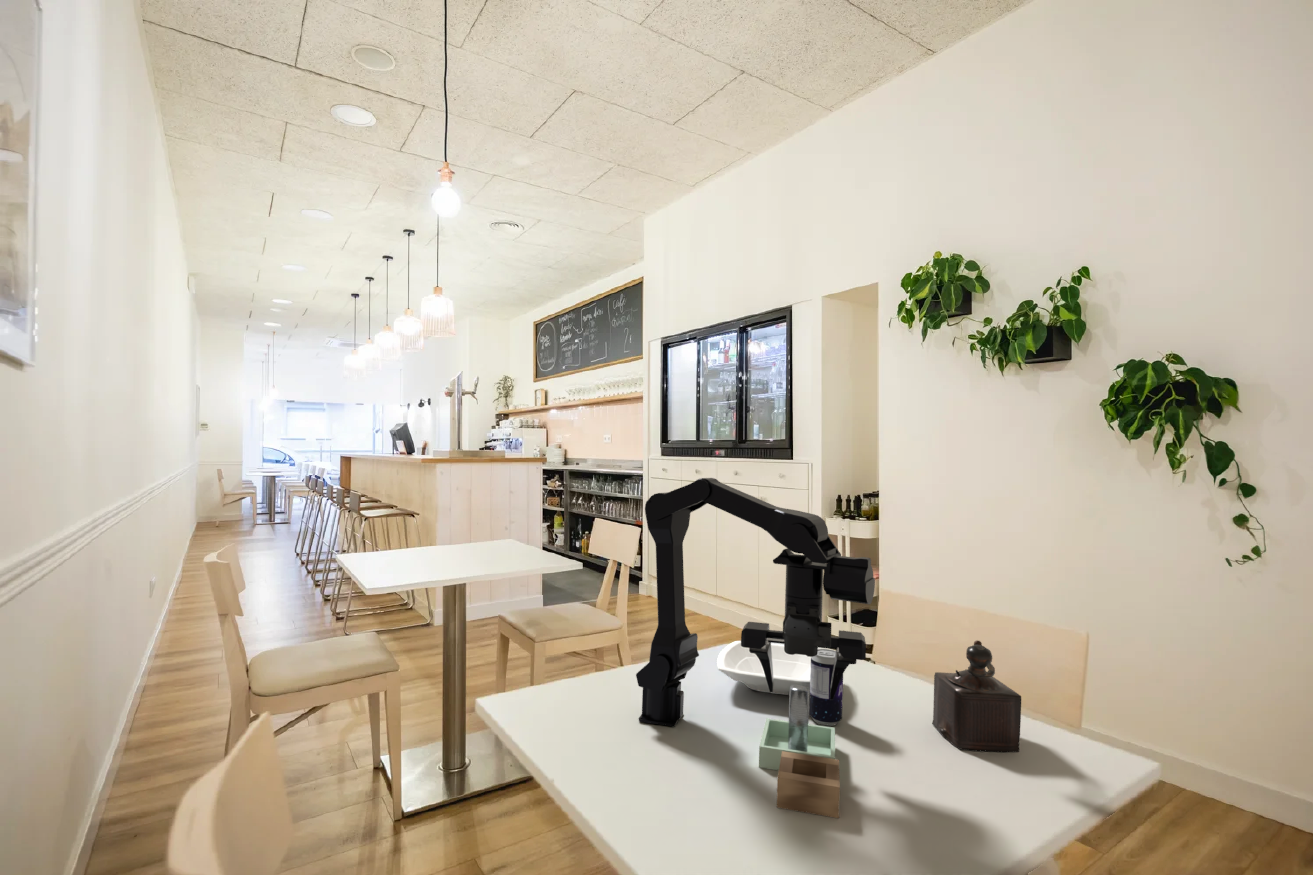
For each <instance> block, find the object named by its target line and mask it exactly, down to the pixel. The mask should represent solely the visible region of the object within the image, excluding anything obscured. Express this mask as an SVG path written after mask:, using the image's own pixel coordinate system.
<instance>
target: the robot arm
mask: <svg viewBox="0 0 1313 875" xmlns="http://www.w3.org/2000/svg"><path fill="white" fill-rule="evenodd" d="M707 504H708V505H710V506H713V507H714V508H716V509H719V510H721V511H723V512H725V513H727V514H730V515H732V516H734V517H737V518H739V519H741V520H743V521H746V522H747V523H750V524H751V525H754V526H757V527H759V528H761V529H762V530H764V531H765V532H767V533H768V535H770V537H772V539H774V540H775V541H776V542H778V543H779V544H781V545H782V546H784V547H785V548H784V549H783V550H782V551H781V552H780V554H779V555H777V556H776V557H775V558H773V560H772V563H773V564H775V565H782V566H783V565H784V566H785V589H784V590H785V594H784V595H785V597H784V599H785V600H784V619H783V621H782V630H775V629H773V630H772V629H770V623H767V622H756V621H747V623H745V624H744V626H743V628H742V630H741V633H740V641H741V646H742V647H746V648H749V652H750V653H754V654H756V655H757V657H758V658H759V660H760V662H761V665H762V667H763V670H764V673H765V677H766V680H767V684H768V687H769V690H770V692H773V665H772V651H771V643H772V644H781V645H784V651H785V652H786V653H787V654H790V655H794V654H800V655H806V656H808V657H814V656H816V655H817V654H818V649H829V650H835V651H836V654H835V661H834V667H833V674H832V681H831V690H830V699H831V700H833V698H834V696H835V693H836V690H837V688H838V685H839V682H840V679H841V677H842V675H843V676H844V674H845V671H846V669H847V668H848V667H849V665H856V664H857V661H858V660H859V661H863V660H866V659H867V655H866V654H867V643H866V642H867V641H866V637H865V636H864V634H863V633H862V632H860V631H859V632H858V631H850V630H849V631H848V630H840V629H839V630H838V636H833V635H832V622H826V621H823V596H824V595H823V593H824V592H825V594H826V595H829V597H830V599H831V600H835V601H836V600H837V601H842V602H843V601H844V602H849V603H857V604H864V605H871V604H872V602H873V600H874V596H875V590H876V586H875V585H876V578H875V577H874V570H873V567H872V559H871V558H870V557H866V556H865V557H864V556H859V557H853V556H852V557H851V556H846V555H845V556H844V555H842V553H841V552H840V550H839V549H838V548H837V546H836V545H835V543H834V542H833V540H832V539H831V537H830V536H829V530H828V526H827V524H826V521H825V520H824V519H823V518H822V517H821V516H819V515H817V514H814V513H809V512H805V511H803V510H802V511H801V510H796V509H790V508H786V507H785V508H784V507H780V506H777V505H773V504H772V503H769V502H767V501H765V500H762V499H760V498H758V497H755V496H754V495H750V494H749V493H745V492H743V491H742V490H739V489H736V488H734V487H732V486H730V485H727V484H726V483H724V482H723V483H722V482H721V481H720V480H718V479H716V478H714V477H701V478H698V479H696V480H695V481H693V482H691V483H689V484H686V485H684V486H681V487H679V488H676V489H674V490H673V489H672V490H671V491H669V492H657V493H654V494H652V495H651V496H649V498H648V499H647V500H646V501H645V505H644V514H645V519H646V526H647V529H648V532H649V533H650V535H651V537H652V539H653V541H654V544H655V564H656V568H655V569H656V570H655V572H656V599H657V600H656V601H657V627H656V630H655V633H654V636H653V638H652V641H651V644H650V651H649V660H648V661H649V662H647V664H645V666H643V667H642V668H641V669H640V670H639V671H638V672H636V674H635V678H636V683H637V685H638V687H640V688H642V697H641V698H642V700H641V701H642V702H641V703H642V704H641V714H640V716H639V717H638V722H639V723H640V722H641V723H646V724H652V725H653V724H654V725H660V726H665V727H666V726H667V727H676V725H677V724H678V722H679V721H680V719H681V718H682V717H683V715H684V701H685V700H684V698H685V691H683V690H682V680H684V679H685V678H686V676H687V674H688V672H689V671H691V669H693V667H694V666H695V664H696V660H697V658H698V657H699V656H700V654H699V650H698V639H699V638H698V633H695V632H694V633H691V632H690V630H689V628H688V626H687V625H686V606H685V604H686V603H685V579H684V577H685V576H684V575H685V574H684V572H685V571H684V550H683V549H684V546H683V544H684V540H685V537H686V534H687V532H688V529H689V527H690V519H691V513H693V512H695V511H697V510H699V509H701V508H702V507H704V506H705V505H707ZM823 590H824V592H823Z"/></svg>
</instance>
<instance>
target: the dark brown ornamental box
mask: <svg viewBox="0 0 1313 875" xmlns="http://www.w3.org/2000/svg"><path fill="white" fill-rule="evenodd" d="M965 655H966V657H965V658H966V659H967V660H968V662H969V666H968V667H967V669H965V670H960V671H958V670H957V669H955V673H954V672H939V671H938V672H937V671H936V672H934V677H933V678H934V679H933V715H932V723H931V724H932V726H933V727H934V728H935V729H936V730H937V731H938V733H940V735H941V736H942V737H943V738H944V739H945V740H947V741H948V742H949V743H950V744H951V745H953V746H954V747H956V748H958V749H960V750H964V751H971V752H988V753H1019V752H1020V741H1021V740H1020V738H1021V719H1022V696H1021V695H1020V694H1019V693H1017V692H1016V691H1015V690H1013V689H1012V688H1011V687H1009V686H1007V685H1006V684H1004V683H1003V682H1001V681H1000V680H999V679H997V678H995V677H994V676H995V674H996V670H995V669H996V668H995V666H994V665H993V664H992V662H993V655H992V651H991V650H990V649H989V648H987V647H985V646H984V645H983V643H982V641H981V640H975V641H974V642H973V645H970V646H967V647H966V653H965ZM986 668H987V670H986Z"/></svg>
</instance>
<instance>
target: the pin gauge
mask: <svg viewBox="0 0 1313 875" xmlns="http://www.w3.org/2000/svg"><path fill="white" fill-rule="evenodd" d="M788 697H789V699H788V700H789V702H788V703H789V704H788V721H789V727H788V749H792V750H798V751H805V752H807V751H808V724H809V716H810V715H809V702H810V691H809V688H807V687H805V686H801V685H792V686H790V693H789V695H788Z"/></svg>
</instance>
